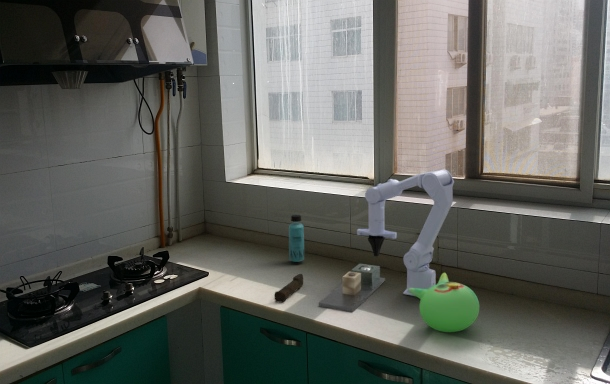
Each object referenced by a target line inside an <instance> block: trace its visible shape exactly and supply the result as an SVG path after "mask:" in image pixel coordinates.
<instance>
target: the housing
mask: <svg viewBox="0 0 610 384" xmlns="http://www.w3.org/2000/svg"><path fill="white" fill-rule="evenodd" d="M341 278H342V284H343V294H349V295H355V294H357V293H358V292H359V291H360V290H361V273H357V272H351V271H347V273H346V274H344V275H343V276H342V277H341Z"/></svg>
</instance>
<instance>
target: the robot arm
mask: <svg viewBox="0 0 610 384" xmlns="http://www.w3.org/2000/svg"><path fill="white" fill-rule="evenodd" d="M454 184H455V180H454V178H453V176H452V174H451V172H450V171H449V170H448V169H444V168H441V169H438V170H434V171H433V170H432V171H428V172H423V173H418V174H415V175H413V176H411V177H408V178H406V179H403V180H400V181H399V180H397V179H393V178H390V179H388V180H387V182H384V183H378V184H377V185H376V186H373V187H372V186H371V187H369V188H368V189H366V190H365V194H364V197H365V200H366V201H367V203H368V228H358V229H356V235H357V236H368V237H367V241H368V243H369V244H370V247H371V249H372V253H373V257H379V256H380V252H381V248H382V246H383V244H384V241H385V239H386V238H389V239H392V240H395V239H397V238H398V236H397V235H398V234H397V233H398V232H396V231H391V230H386V229H385V222H386V221H385V207H386V200H389V199H390V200H391V199H392V198H395V197H399V196H401V195H402V194H403V191H404V190H408V189H410V188H413V187H417V186H418V187H419V188H421V189H424V191H425V192H426V193H427V194H428V196H429V197H430V198H431V199H432V201H433V205H432V206H431V210H430V212H429V213H428V216H427V218H426V220H425V221H424V224H423V227H422V229H421V231H420V233H419V236H418V237H417V240H416V242H414V244H413V245H412V246H410V249H409V251H407V252H406V253H405V254H404V256H403V259H402V260H403V264H404V266H405V267H406V271H407V272H406V275H407V277H406V289H405V290H404V291H403V292H402V293H403V295H406V296H407V295H408V296H412V297H416V296H415V295H413V294H412V293H410V292H409V291H408V289H409V288H420V289H429V288H430V287H432V286H434V285H436V284H437V283H436V279H437V278H436V277H437V275H436V270H435V269H431V268H430V263H431V262H432V260H433V258H434V257H433V254H434V250H435V248H434V247H433V245H434V243H435V241H436V238H437V237H438V236H439V232H440V230H441V228H442V227H443V223H444V222H445V220H446V217H447V215H448V214H449V212H450V210H451V208H452V205H453V202H454V201H453V200H454V197H453V196H454V195H453V193H454V192H453V186H454Z"/></svg>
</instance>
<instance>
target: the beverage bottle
mask: <svg viewBox="0 0 610 384" xmlns="http://www.w3.org/2000/svg"><path fill="white" fill-rule="evenodd" d="M290 218H291V219H290V221H291V223H290V224H289V225H288V259H289V261H291V262H295V263H297V262H302V261H304V260H305V230H304V229H305V228H304V227H305V225H304V224H302V222H301V221H302V216H301V214H292V215H291V217H290Z"/></svg>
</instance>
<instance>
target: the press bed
mask: <svg viewBox="0 0 610 384" xmlns="http://www.w3.org/2000/svg"><path fill="white" fill-rule="evenodd" d="M361 267H370V268H371V270H370V271H367V270H361ZM350 272H357V273H361V290H360V291H359V292H358V293H357V294H355V295H349V294H343V283H341V284H340V285H339V286H338V287H336V288H335V289H334V290H332V292H330V293H329V294H328V295H326V297H324V298H323V299H321V300H320V301H319V302H318V307H321V308H328V309H333V310H338V311H345V312H349V313H353V312H354V311H356V310H357V309H358V307H360V306H361V305H362V304H363V303H364V302H365V301H366V300H367V299H368V298H369V297H370V296H371V295H372V294H373V293H374V292H375V291H377V289H379V287H381V286H382V285H383V284H384V283H385V282H386V278H385V277H381V266H379V265H374V264H372V265H371V264H366V263H358V264H357V265H356V266H354V267H353V268H352V269H351V271H350ZM384 281H385V282H384ZM383 282H384V283H383ZM382 283H383V284H382ZM381 284H382V285H381ZM380 285H381V286H380Z"/></svg>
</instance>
